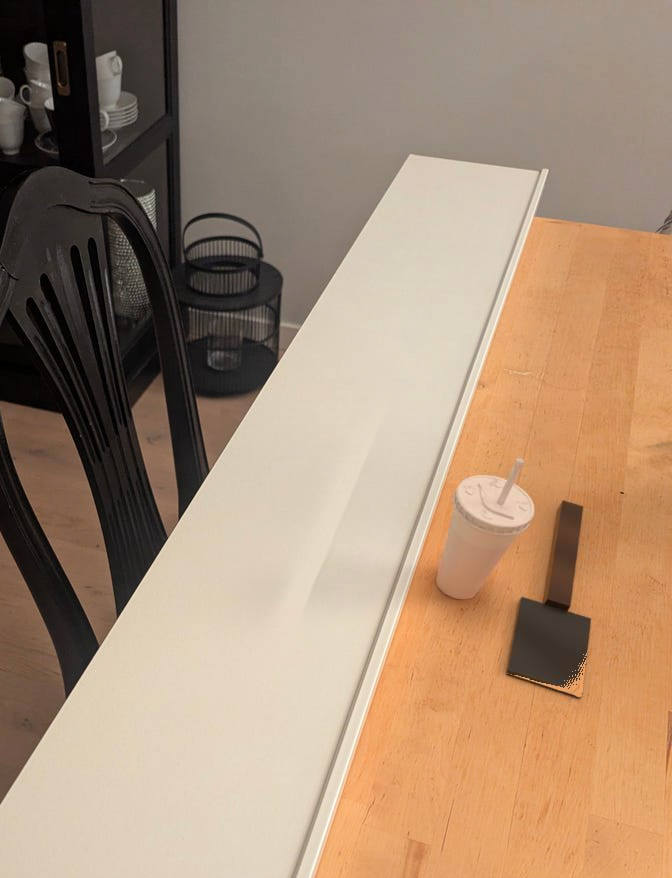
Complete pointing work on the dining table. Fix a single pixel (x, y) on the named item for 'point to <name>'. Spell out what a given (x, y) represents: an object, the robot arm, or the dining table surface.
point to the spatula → (553, 614)
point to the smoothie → (481, 530)
